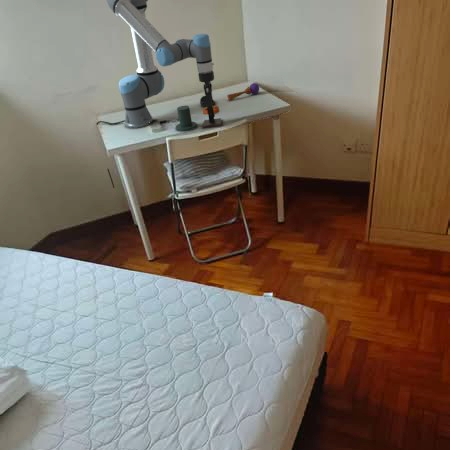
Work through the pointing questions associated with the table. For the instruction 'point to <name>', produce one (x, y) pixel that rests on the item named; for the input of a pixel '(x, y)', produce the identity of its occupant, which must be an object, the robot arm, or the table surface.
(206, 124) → the post
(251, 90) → the kendama
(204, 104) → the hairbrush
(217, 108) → the ring
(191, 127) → the stand
